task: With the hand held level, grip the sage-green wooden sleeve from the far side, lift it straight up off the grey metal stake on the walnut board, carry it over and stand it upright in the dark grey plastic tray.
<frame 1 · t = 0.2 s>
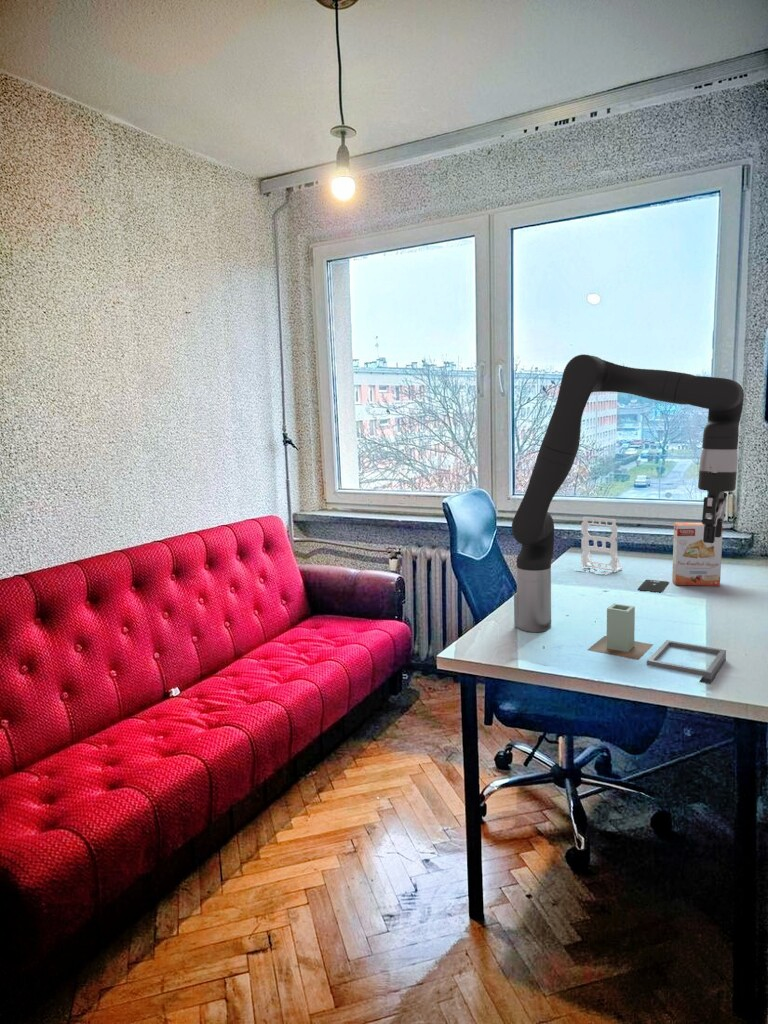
hand: (712, 539, 143), 28 cm above the table, tool pointing down, fingers open, 8 cm apart
smartphone: (653, 588, 211), on the table
sleeve: (620, 647, 152), point 1 cm above the table, touching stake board
grey tray: (686, 665, 143), on the table
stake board: (620, 653, 152), on the table
cracker box: (696, 584, 211), on the table
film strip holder: (597, 570, 236), on the table
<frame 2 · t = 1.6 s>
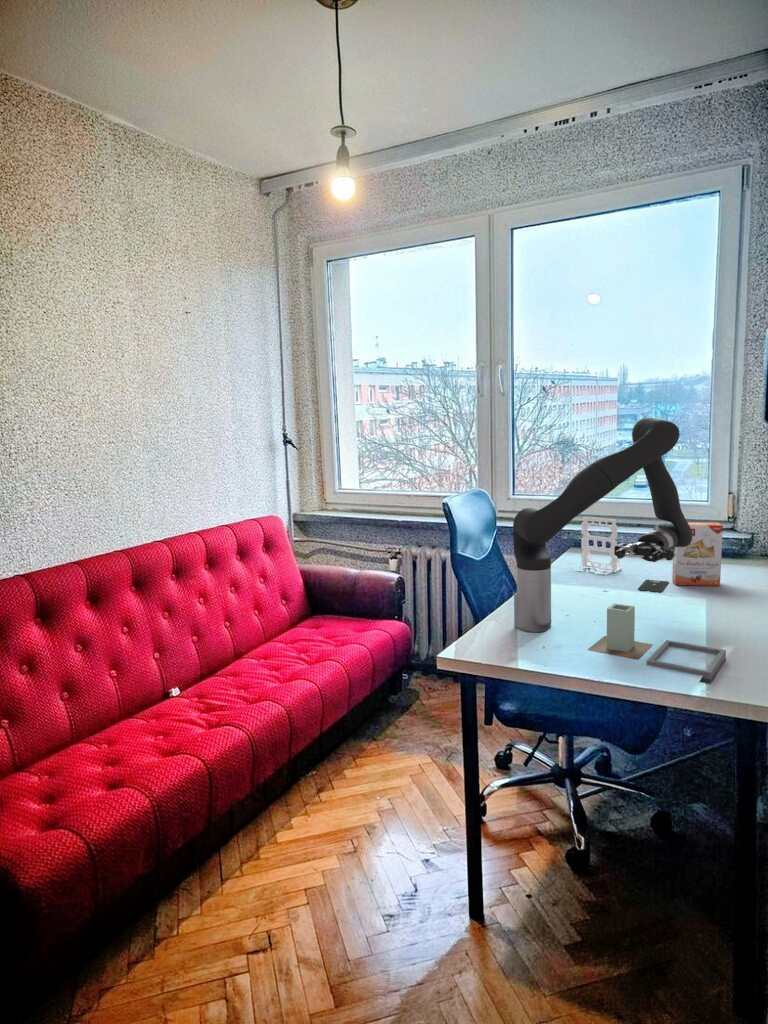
hand: (635, 556, 157), 22 cm above the table, tool horizontal, fingers open, 8 cm apart
nothing on the table moved.
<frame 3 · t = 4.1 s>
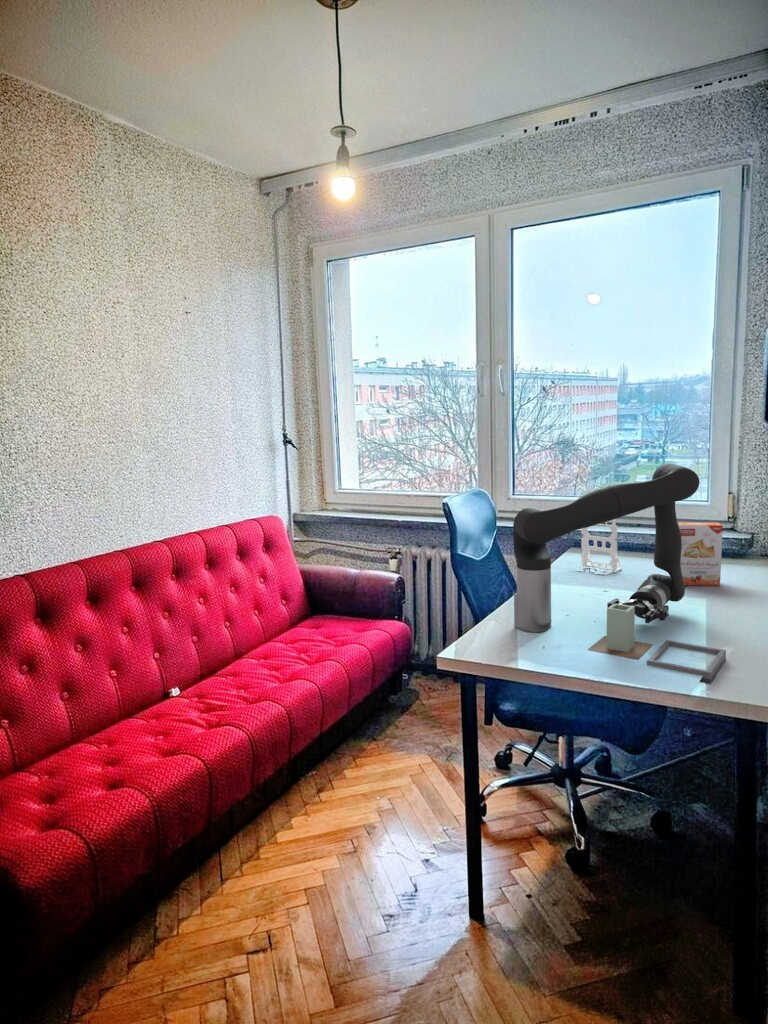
hand: (628, 616, 156), 8 cm above the table, tool horizontal, fingers open, 8 cm apart
nothing on the table moved.
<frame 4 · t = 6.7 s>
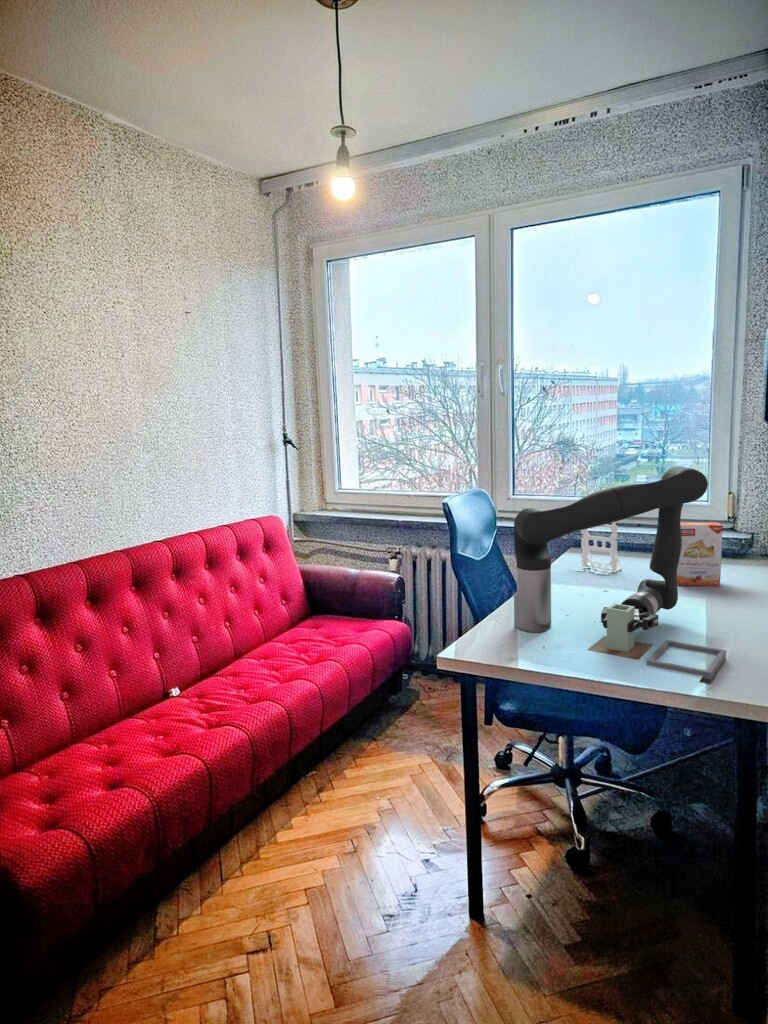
hand: (617, 626, 149), 7 cm above the table, tool horizontal, fingers closed on sleeve, 5 cm apart
sleeve: (620, 647, 152), point 2 cm above the table, touching gripper, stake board
everything else where it was.
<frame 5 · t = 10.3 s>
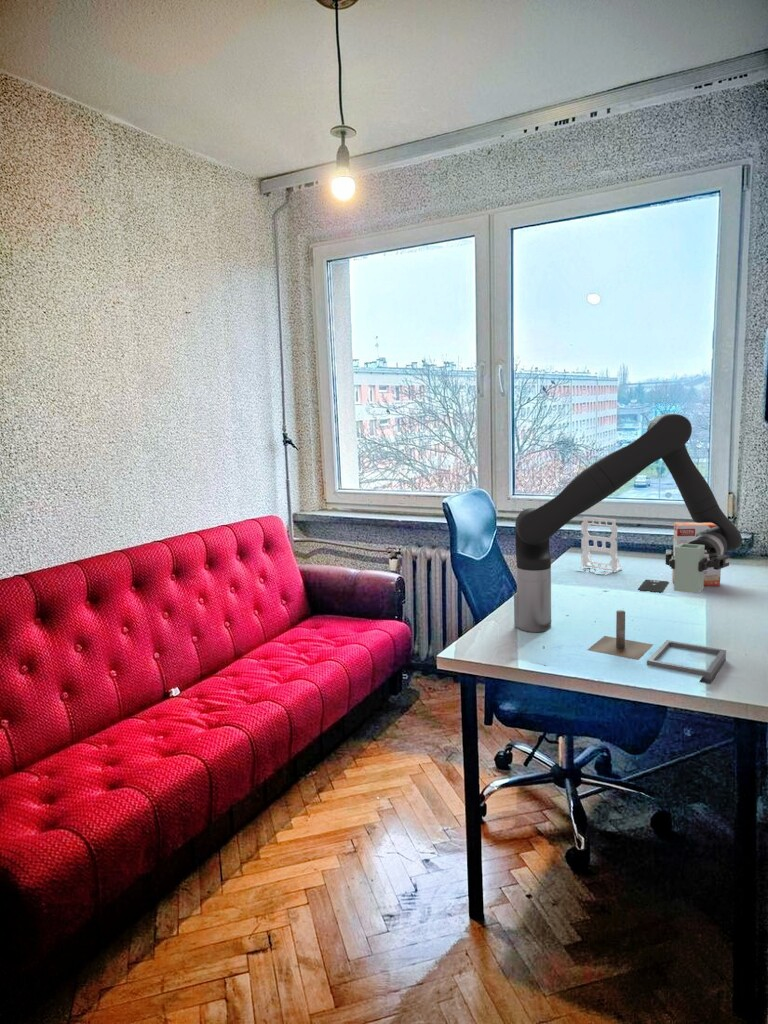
hand: (686, 565, 138), 24 cm above the table, tool horizontal, fingers closed on sleeve, 5 cm apart
sleeve: (688, 589, 140), point 18 cm above the table, touching gripper
everything else where it was.
when the fingers open (8 cm above the table, at t = 14.2 s): sleeve drops 1 cm, resting on grey tray.
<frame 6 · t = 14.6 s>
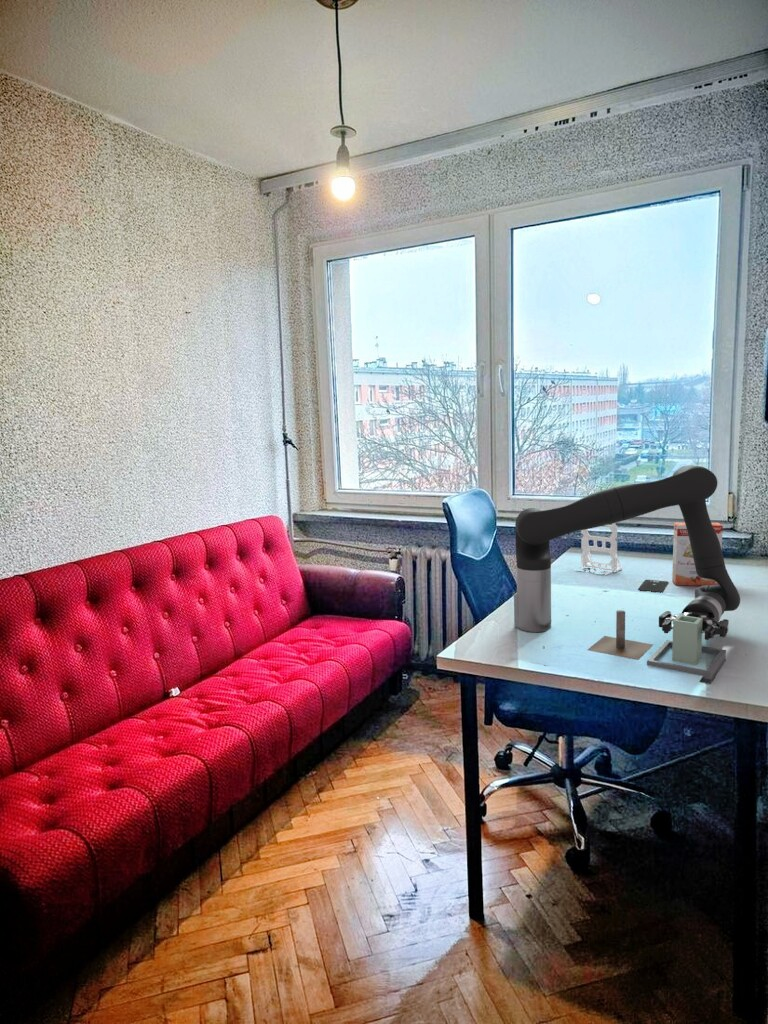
hand: (685, 632, 140), 9 cm above the table, tool horizontal, fingers open, 8 cm apart
sleeve: (686, 661, 143), point 1 cm above the table, touching grey tray
everything else where it was.
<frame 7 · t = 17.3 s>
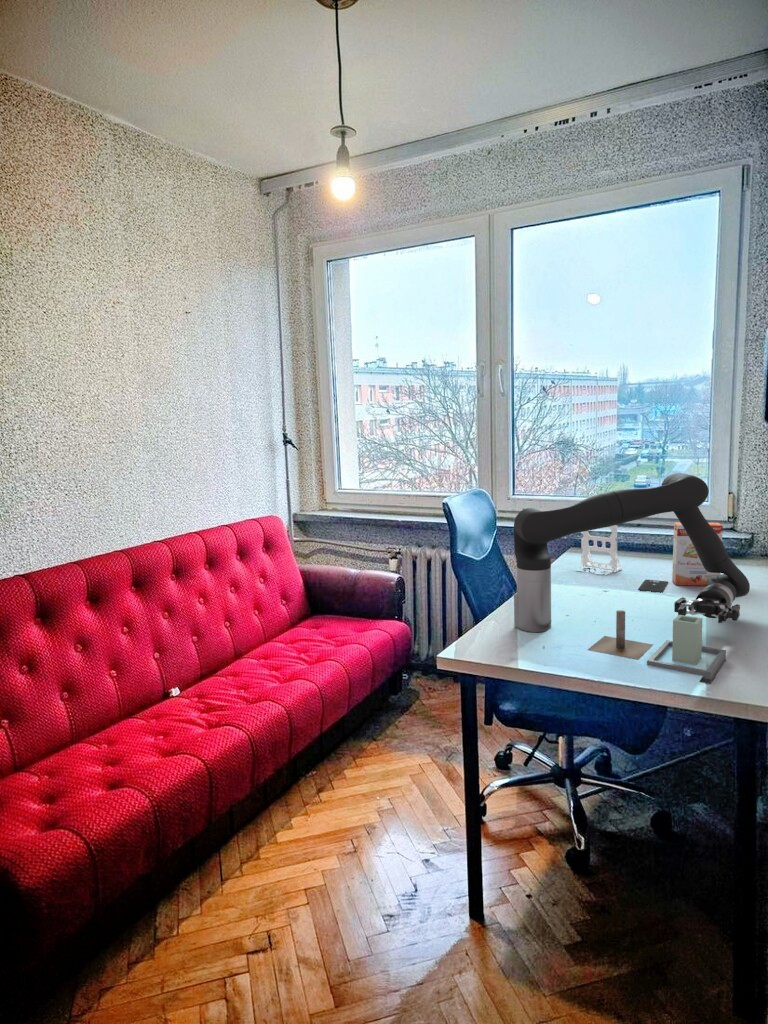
hand: (700, 616, 151), 9 cm above the table, tool horizontal, fingers open, 8 cm apart
nothing on the table moved.
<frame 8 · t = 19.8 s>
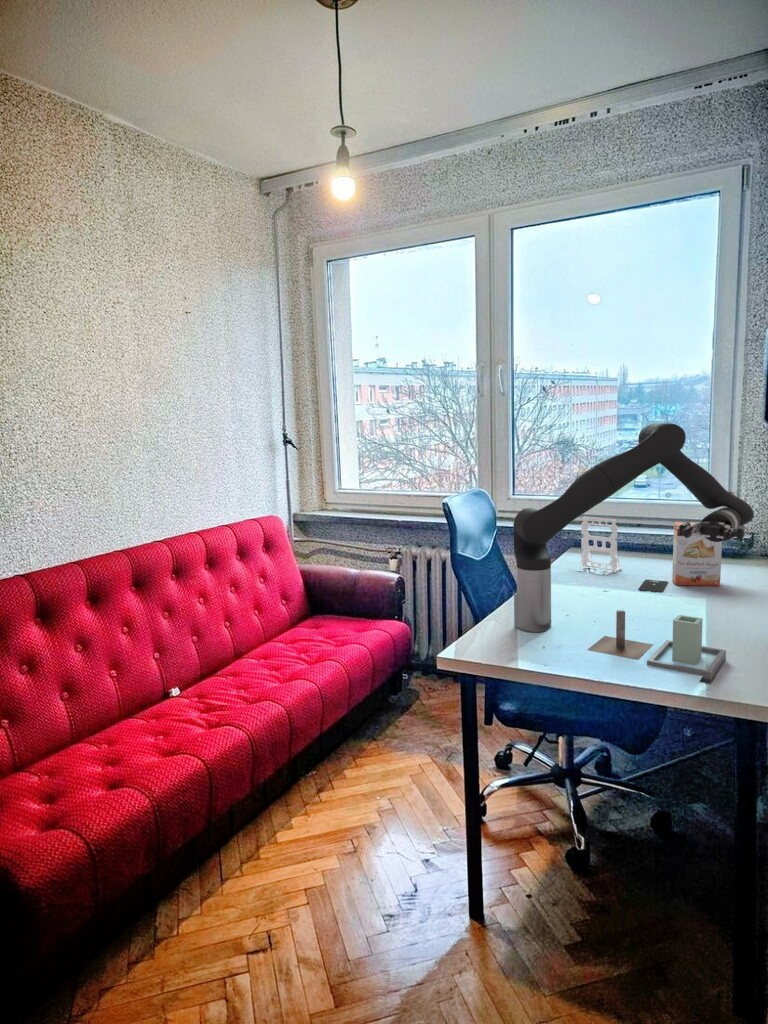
hand: (705, 535, 151), 28 cm above the table, tool horizontal, fingers open, 8 cm apart
nothing on the table moved.
at the end: sleeve inside the target area on the grey tray (0.1 cm from its centre), point 1.0 cm above the grey tray's base; sleeve tilted 0°; the gripper is holding nothing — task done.
